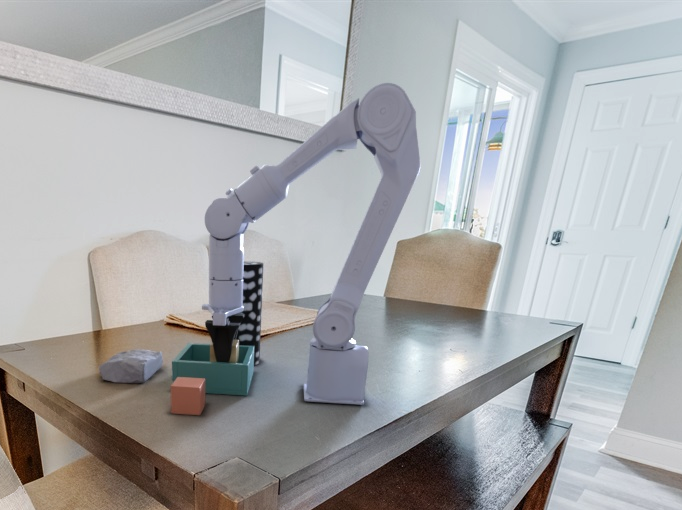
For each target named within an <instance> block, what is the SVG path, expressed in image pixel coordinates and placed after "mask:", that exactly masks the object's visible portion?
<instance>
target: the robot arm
mask: <svg viewBox="0 0 682 510" xmlns="http://www.w3.org/2000/svg"><path fill="white" fill-rule="evenodd" d="M412 103H413V102H412V101H411V100H410V98H409V96H408V94H407V93H406V91H405V90H404V88H402V87H401V86H400V85H398V84H396V83H393V82H383V83H379V84H377V85H375V86H373V87H372V88H370V89H369V90H368V91H367V92H366V93H365V94H364V96H363V97H362V98H361V100H360V97H358V98H357V99H355V100H353V101H352V102H350V103H348V104H347V105H346V106H344V108H342V109H341V110H340V111H339V112H338V113H336V114H335V115H334V116H332V117H331V118H329V120H328V121H327V122H325V124H323V125H322V126H321V127H320V128H318V130H316V131H315V132H313V134H312V135H310V137H308V138H307V139H306V140H305V141H303V142H302V143H301V144H300V145H299V146H298V147H297V148H296V149H294V150H293V151H292V152H291V153H290V154H289V155H288V156H286V157H285V158H284V159H283V160H282V161H281V162H280V163H278V164H276V165H275V164H270V163H264V164H263V165H262V166H258V165H255V166H254V167H252V168H251V169H250V170H249V172H250V176H248V178H245V180H244V181H242V182H241V183H240V184H239V185H238V186H236V187H235V188H233V189H232V188H229V189H228V190H226V191H225V195H226V197H218V198H215V199H213V201H212V202H211V204H210V205H209V206H208V208H207V209H206V211H205V214H204V225H205V229H206V230H207V232H208V233H209V236H208V239H209V240H208V241H209V242H208V245H209V246H208V303H203V304H202V305H201V310H203V311H207V312H209V313H210V314H211V318H212V319H206V320H205V322H204V326H205V329H206V331H207V332H208V335H209V337H210V340H211V343H213V348H214V353H215V358H216V361H217V362H225V363H229V360H230V356H231V351H232V345H233V340H236V337H237V333H238V329H239V326H240V324H241V321H242V319H243V318H244V314H242V313H240V312H242V311H243V310H244V306H243V269H244V261H245V250H244V236H245V235H244V234H245V233H246V231H247V229H248V227H249V223H251V224H254V223H255V222H257V221H259V219H260V218H262V217H263V216H264V215H266V214H267V213H268V212H270V211H271V210H272V209H273V208H275V207H276V206H277V205H279V204H281V202H283V201H284V200H285V199H287V196H288V192H289V187H290V185H291V184H292V183H294V182H295V181H296V180H298V179H299V178H300V177H302V176H303V175H304V174H306V173H307V172H308V171H310V170H311V169H312V168H314V167H316V166H317V165H318V164H319V163H321V162H322V161H324V160H325V159H326V158H328V157H329V156H330V155H332V154H334V153H335V152H336V151H342V150H354V149H357V148H358V140H359V142H361V144H362V145H363V146H364V147H365V148H366V150H368V151H369V152H370V154H371V155H372V156H373V158H374V161H375V163H376V165H377V168H378V170H379V172H380V176H381V177H380V179H379V181H378V184H377V186H376V189H375V190H374V193H373V195H372V198H371V199H370V200H371V201H370V203H369V205H368V208H367V210H366V212H365V215H364V217H363V219H362V221H361V224H360V226H359V229H358V231H357V234H356V236H355V238H354V240H353V243H352V245H351V247H350V250H349V252H348V254H347V257H346V259H345V261H344V264H343V266H342V268H341V272H340V274H339V276H338V279H337V281H336V283H335V285H334V288H332V289H333V290H332V292H331V294H330V296H329V297H328V299H327V300H326V301H325V302H323V303H322V304H321V305H320V306H319V308H318V310H317V312H316V317H315V319H314V321H313V323H312V334H313V337H312V338H310V339H309V340H310V341H309V342H310V343H309V351H308V352H309V353H308V354H309V355H308V363H307V364H308V366H307V378H306V383H303V386H302V387H303V400H304V402H311V403H323V404H324V403H325V404H326V403H327V404H342V405H343V404H344V405H358V406H362V405H364V404H365V401H364V400H365V393H366V392H365V391H366V385H367V378H368V368H369V348H368V346H366V345H358V344H357V342H356V340H355V339H353V337H354V336H355V332H356V316H357V313H358V311H359V309H360V306H361V303H362V301H363V298H364V294H365V292H366V290H367V288H368V285H369V283H370V281H371V279H372V277H373V275H374V272H375V269H376V267H377V265H378V264H379V261H380V259H381V257H382V255H383V253H384V250H385V248H386V246H387V244H388V241H389V239H390V238H391V235H392V232H393V231H394V228H395V225H396V223H397V221H398V219H399V217H400V215H401V213H402V210H403V208H404V206H405V204H406V202H407V199H408V197H409V195H410V193H411V191H412V188H413V186H414V184H415V182H416V180H417V178H418V176H419V173H420V169H421V157H420V148H419V140H418V139H419V138H418V130H417V112H416V108H414V105H413V104H412Z"/></svg>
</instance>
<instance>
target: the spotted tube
mask: <svg viewBox="0 0 682 510" xmlns="http://www.w3.org/2000/svg"><path fill="white" fill-rule="evenodd" d="M263 288H264V262H261V261H245V260H244V269H243V306H244V310H243V311H242V312H240V313H242V314H244V318H243V319H242V321H241V324H240V326H239V329H238V333H237V337H236V340H239V345H243V346H254V366H256V365H258V364H260V361H261V337H262V335H261V334H262V310H263V309H262V308H263Z"/></svg>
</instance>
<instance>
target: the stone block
mask: <svg viewBox="0 0 682 510" xmlns="http://www.w3.org/2000/svg"><path fill="white" fill-rule="evenodd" d="M163 363H164V359H163V352H162V351H154V350H148V349H142V348H139V349H138V348H135V349H134V348H133V349H131V350H125V351H119V352H117V353H116V354H114V355H113V356H111V357H109V358H108V359H107V360H106V362H103V363H101V364H99V367H98V368H99V369H98V371H99V374H100V377H101V378H102V380H104V381H108V382H112V383H125V384H127V383H128V384H129V383H130V384H144V383H145V382H147V381H148V380H149V379H150V378H151V377H153V375H154V374H155V373H156V372H158V371H159V370H160V369H161V367H162V366H163Z"/></svg>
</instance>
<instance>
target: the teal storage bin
mask: <svg viewBox="0 0 682 510" xmlns="http://www.w3.org/2000/svg"><path fill="white" fill-rule="evenodd" d="M210 344H211V343H196V342H195V343H194V342H187V344H186V345H185V346H184V347H183V348H182V349H181V350H180V352H179V353H178V354H177V355H176V356H175V357H174V358H173V360H172V361H171V377H172V378H171V379H172V380H171V381H172V382H171V384H173V382H174V381H175V380H176V378H177V377H188V378H205V394H211V395H212V394H215V395H231V396H246V397H247V396H248V394H249V391H250V386H251V384H252V379H253V376H254V368H255V367H254V366H255V365H254V346H243V345H239V363H225V362H210Z"/></svg>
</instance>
